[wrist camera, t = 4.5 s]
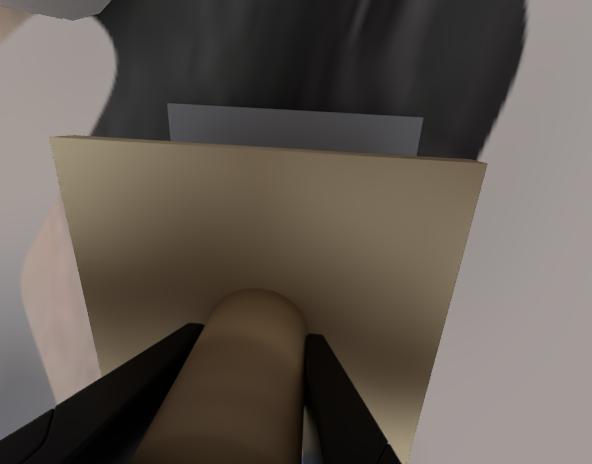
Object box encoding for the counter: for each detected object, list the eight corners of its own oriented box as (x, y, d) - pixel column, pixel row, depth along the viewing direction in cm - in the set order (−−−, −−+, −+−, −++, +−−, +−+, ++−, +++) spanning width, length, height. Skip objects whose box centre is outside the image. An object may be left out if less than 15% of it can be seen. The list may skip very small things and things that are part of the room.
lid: (399, 444, 11) (457, 673, 6) (128, 415, 11) (3, 611, 7) (470, 159, 7) (710, 219, 3) (74, 135, 8) (-256, 154, 3)
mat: (380, 326, 19) (382, 332, 18) (189, 309, 19) (185, 314, 19) (419, 117, 14) (423, 117, 14) (172, 103, 15) (167, 103, 14)
